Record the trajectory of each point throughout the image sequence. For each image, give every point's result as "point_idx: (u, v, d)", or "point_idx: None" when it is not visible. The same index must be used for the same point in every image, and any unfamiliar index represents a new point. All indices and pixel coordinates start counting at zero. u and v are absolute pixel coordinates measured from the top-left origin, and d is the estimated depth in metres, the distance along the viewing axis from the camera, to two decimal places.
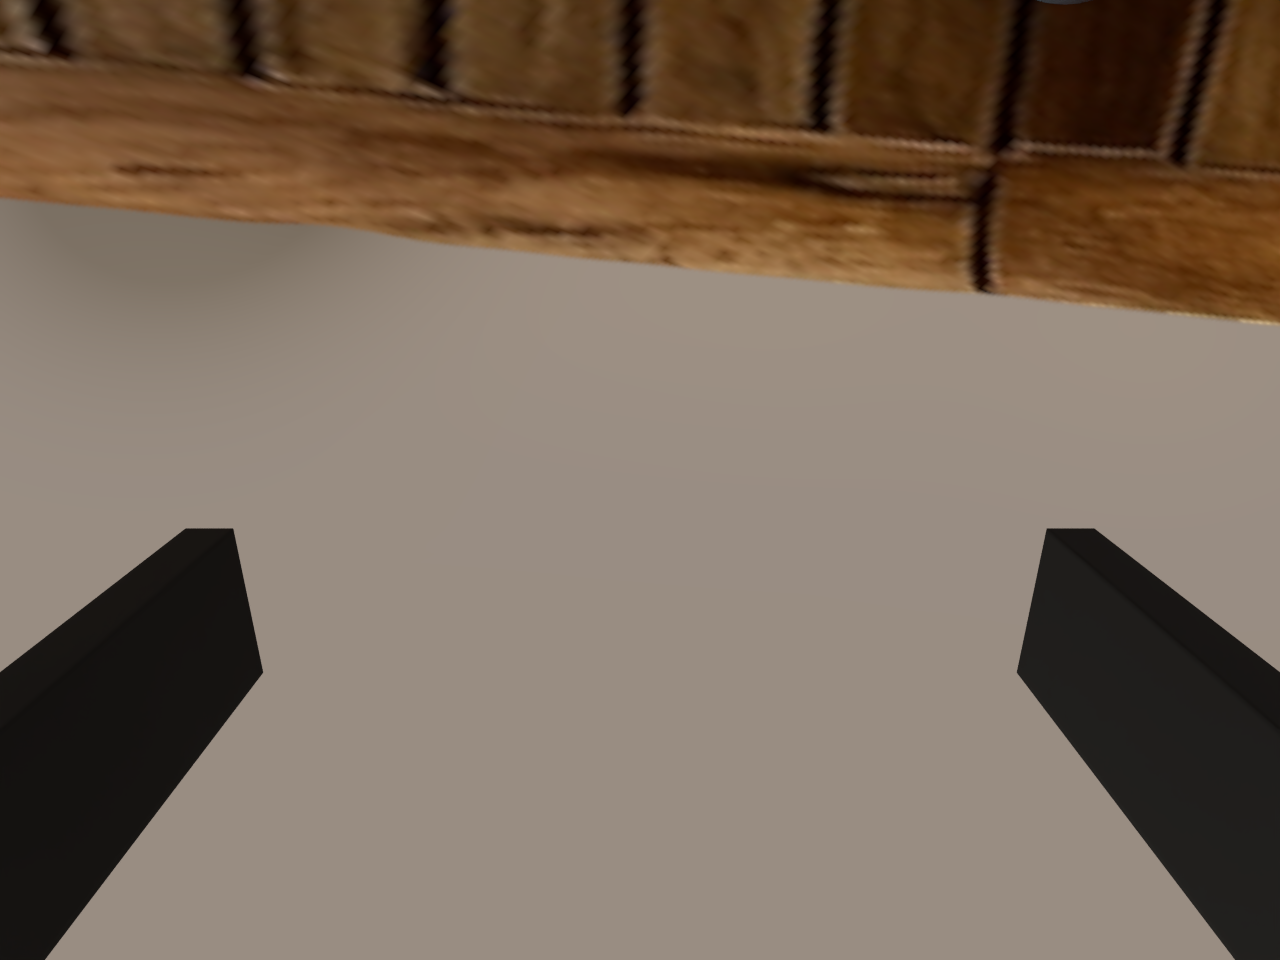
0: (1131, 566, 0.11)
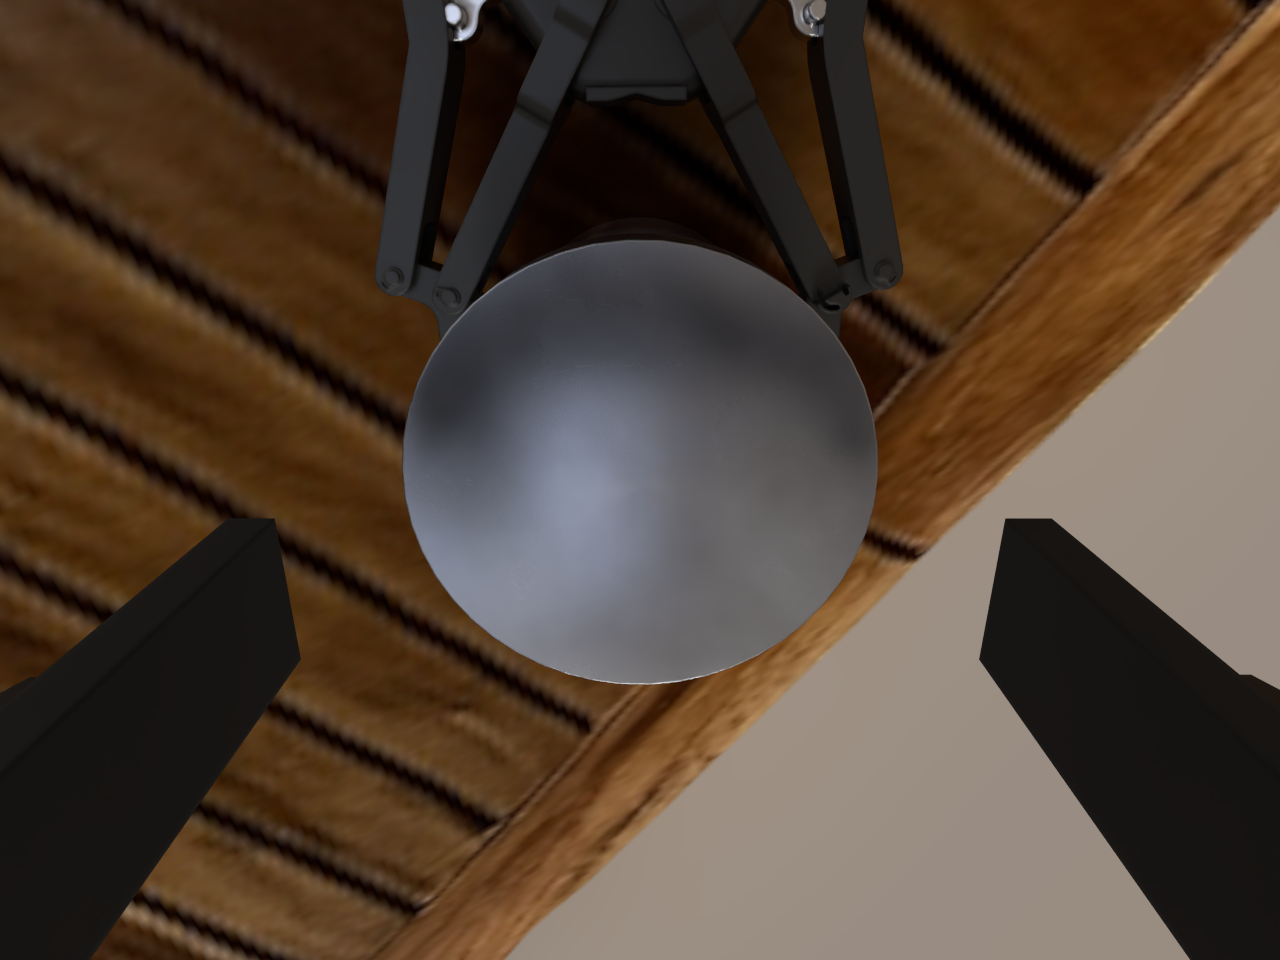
0: (1083, 554, 0.11)
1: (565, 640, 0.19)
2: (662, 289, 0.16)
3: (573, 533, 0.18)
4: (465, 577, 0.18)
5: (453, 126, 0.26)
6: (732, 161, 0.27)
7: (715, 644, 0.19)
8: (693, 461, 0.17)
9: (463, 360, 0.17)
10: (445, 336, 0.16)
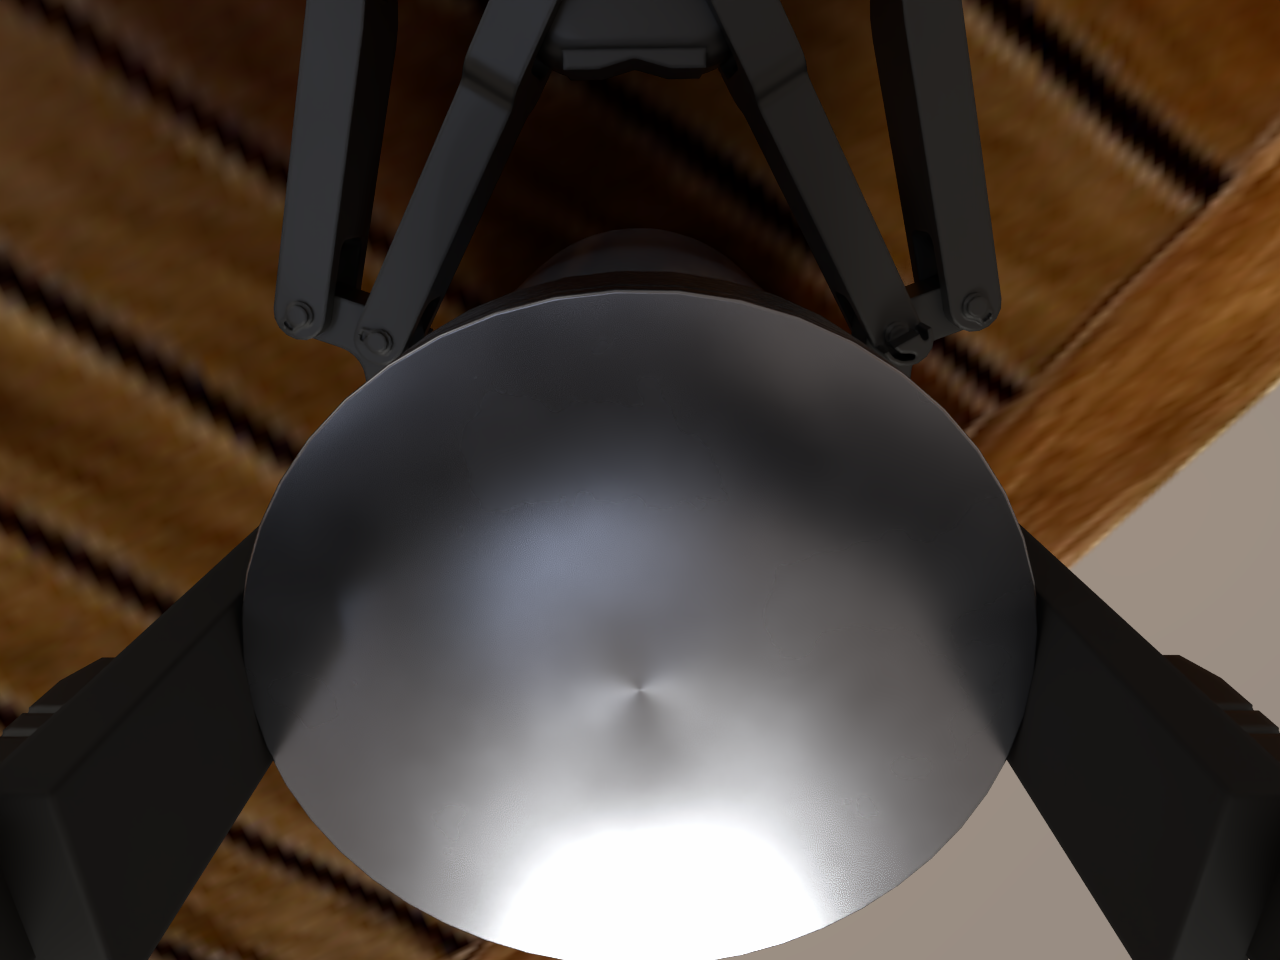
0: (1027, 541, 0.12)
1: (522, 908, 0.12)
2: (679, 376, 0.09)
3: (531, 759, 0.11)
4: (358, 821, 0.11)
5: (383, 107, 0.19)
6: (764, 155, 0.20)
7: (758, 913, 0.12)
8: (729, 652, 0.10)
9: (334, 494, 0.10)
10: (300, 454, 0.09)
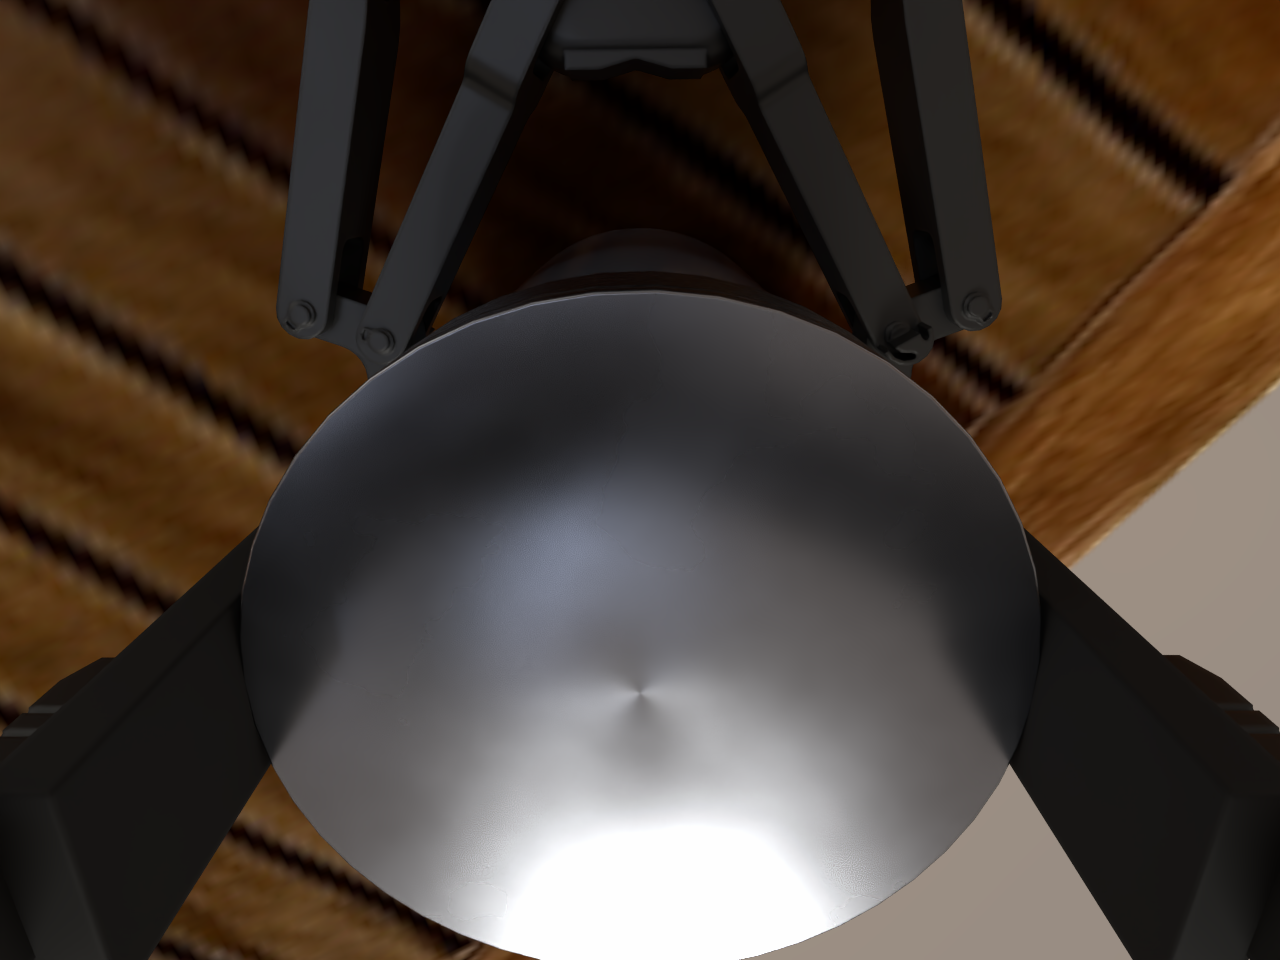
0: (1027, 541, 0.12)
1: (789, 900, 0.12)
2: (367, 498, 0.09)
3: (645, 805, 0.11)
4: (611, 942, 0.12)
5: (385, 107, 0.19)
6: (765, 155, 0.20)
7: (961, 744, 0.11)
8: (654, 607, 0.10)
9: (322, 777, 0.11)
10: (281, 775, 0.11)
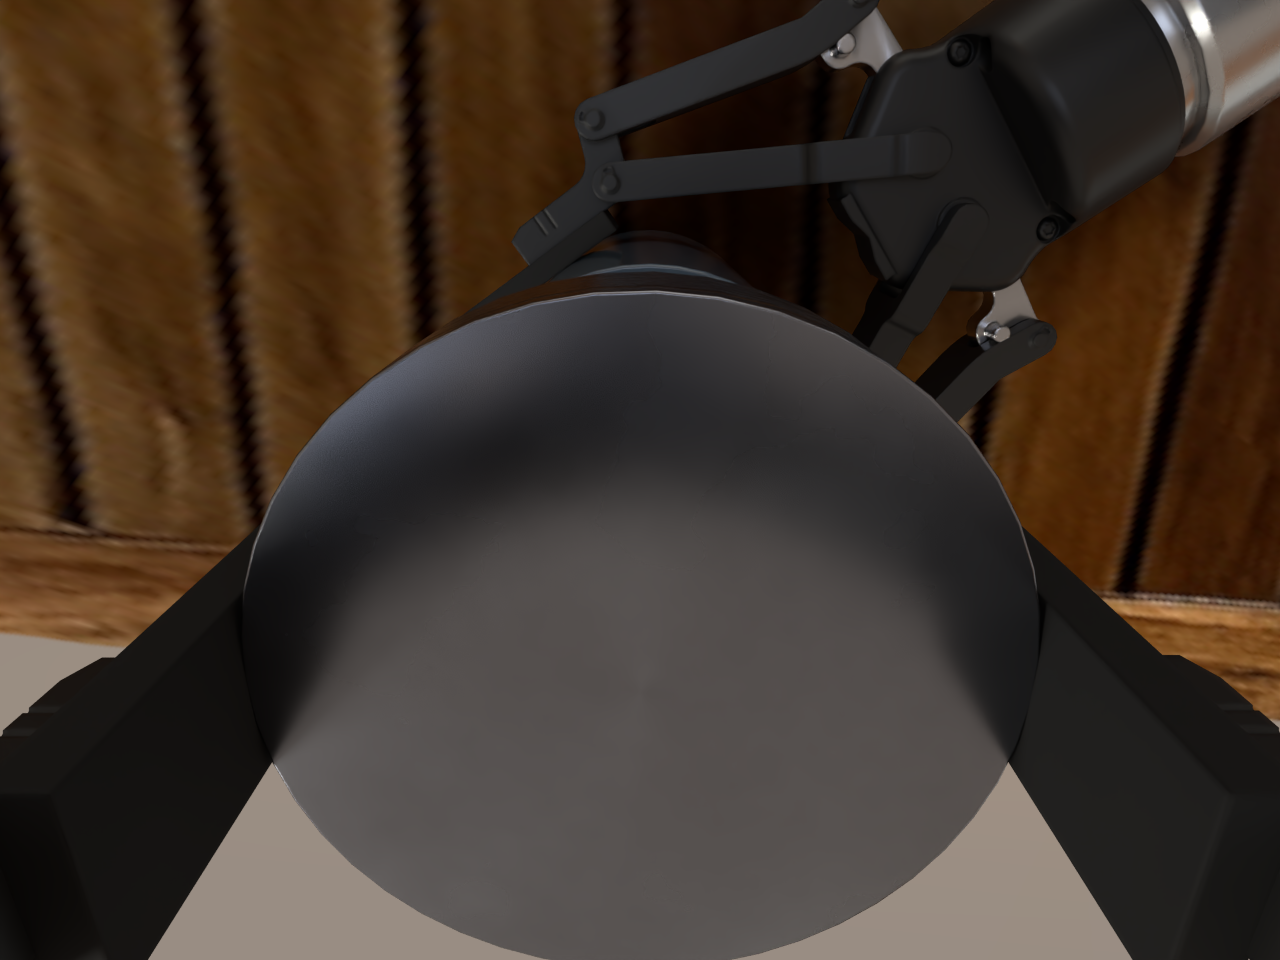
0: (1027, 541, 0.12)
1: (789, 898, 0.12)
2: (368, 497, 0.10)
3: (645, 803, 0.11)
4: (611, 940, 0.12)
5: (743, 90, 0.26)
6: None
7: (960, 743, 0.11)
8: (654, 607, 0.10)
9: (323, 776, 0.11)
10: (282, 774, 0.11)
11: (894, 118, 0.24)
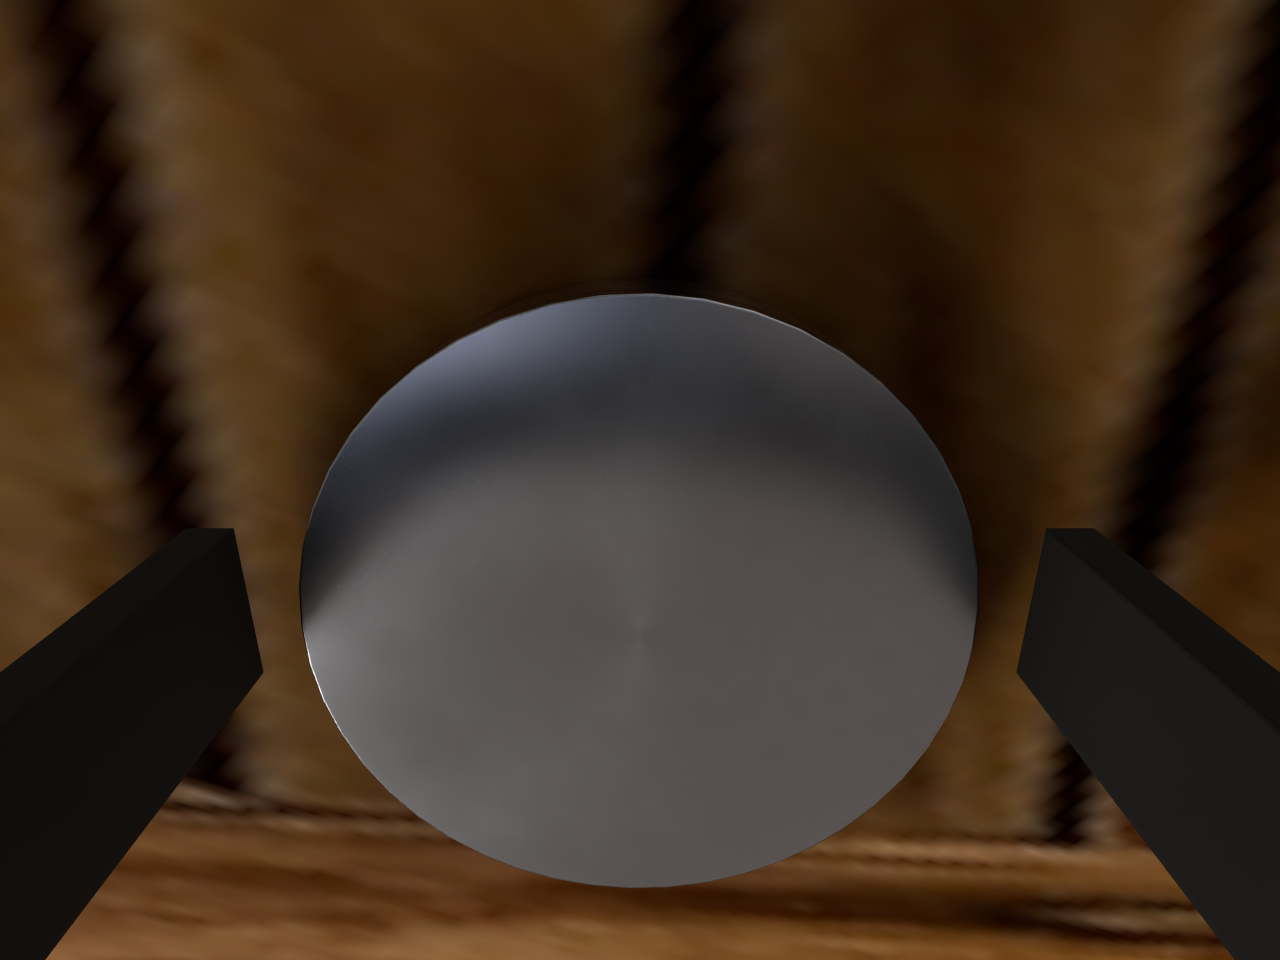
0: (1131, 566, 0.11)
1: (769, 822, 0.14)
2: (410, 467, 0.11)
3: (643, 736, 0.13)
4: (614, 861, 0.14)
5: None
6: None
7: (914, 681, 0.13)
8: (651, 561, 0.12)
9: (366, 711, 0.13)
10: (330, 709, 0.13)
11: None
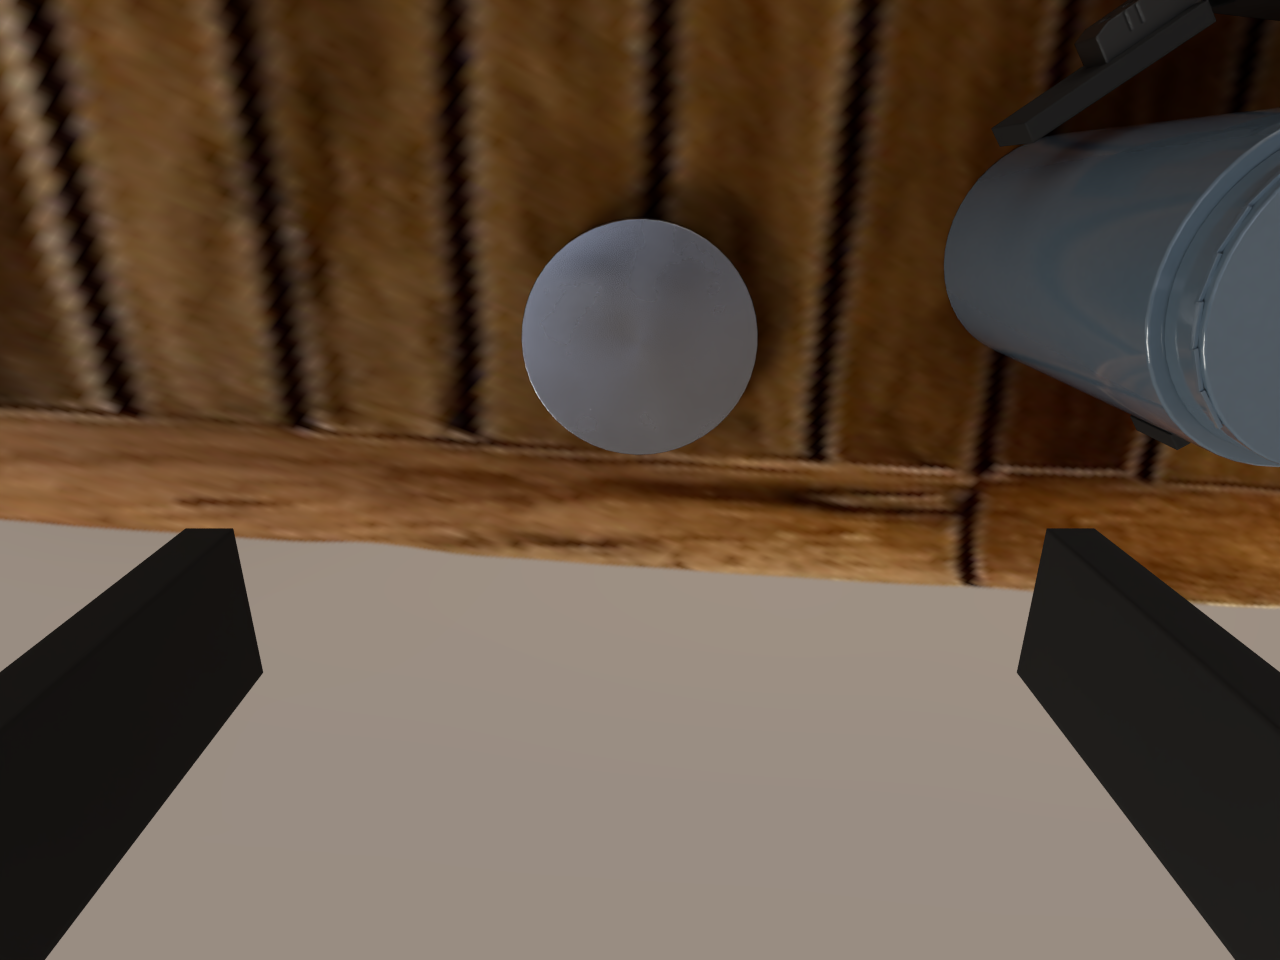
0: (1131, 566, 0.11)
1: (688, 423, 0.37)
2: (564, 278, 0.34)
3: (641, 384, 0.36)
4: (630, 442, 0.37)
5: None
6: None
7: (737, 361, 0.36)
8: (643, 313, 0.35)
9: (541, 374, 0.36)
10: (528, 374, 0.36)
11: None
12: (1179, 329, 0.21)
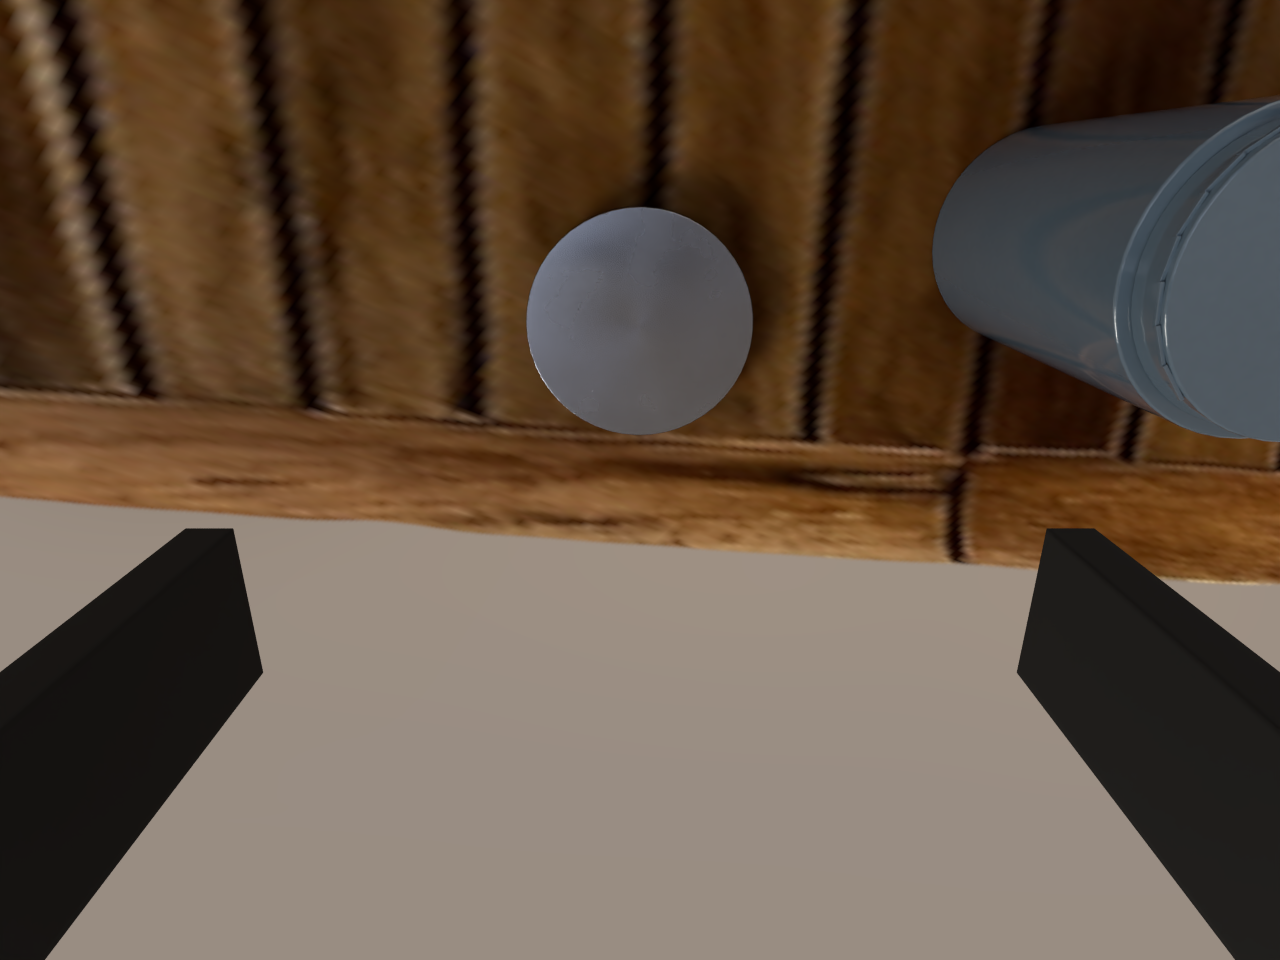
0: (1131, 566, 0.11)
1: (686, 404, 0.38)
2: (567, 264, 0.36)
3: (641, 367, 0.38)
4: (630, 422, 0.39)
5: None
6: None
7: (733, 344, 0.37)
8: (643, 298, 0.36)
9: (545, 357, 0.37)
10: (532, 356, 0.37)
11: None
12: (1143, 308, 0.22)
